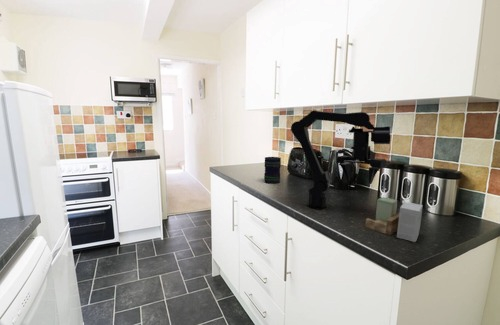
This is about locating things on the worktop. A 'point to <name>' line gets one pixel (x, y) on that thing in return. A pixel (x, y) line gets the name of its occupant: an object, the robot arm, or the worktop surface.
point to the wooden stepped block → (384, 225)
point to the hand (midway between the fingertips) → (359, 182)
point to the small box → (409, 221)
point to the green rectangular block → (385, 209)
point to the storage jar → (272, 170)
